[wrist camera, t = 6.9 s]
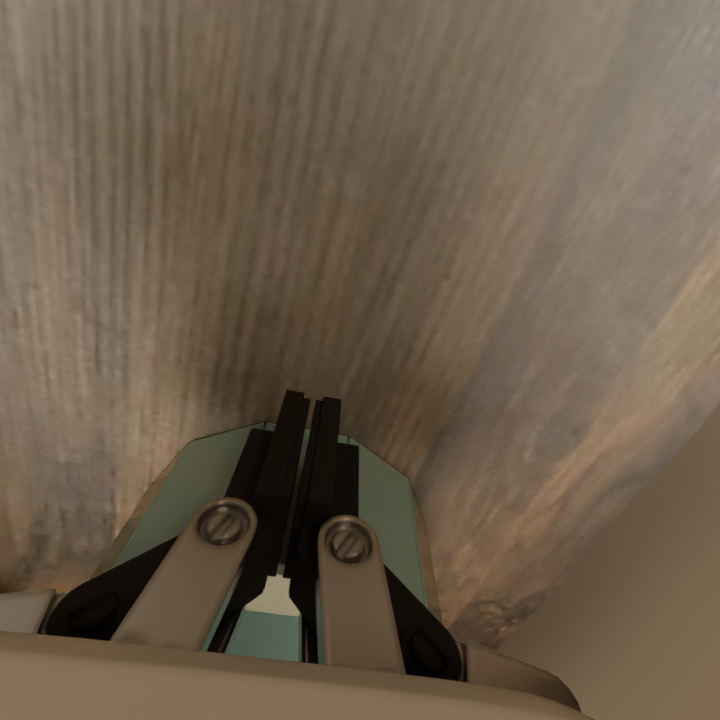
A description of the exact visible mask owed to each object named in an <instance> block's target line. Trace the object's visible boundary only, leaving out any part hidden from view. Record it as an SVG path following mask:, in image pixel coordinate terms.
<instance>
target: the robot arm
mask: <svg viewBox="0 0 720 720" xmlns="http://www.w3.org/2000/svg"><path fill="white" fill-rule="evenodd" d="M304 394H305V393H303V392H297V391H292V390H287V391H286V394H285V397H284V401H283V404H282V407H281V410H280V413H279V416H278V420H277V423H276V426H275V429H274V431H269V430H263V429H257V428H252V429H251V431H250V433H249V436H248V438H247V441H246V443H245V446H244V448H243V451H242V453H241V456H240V458H239V461H238V463H237V466H236V468H235V471H234V473H233V476H232V478H231V481H230V483H229V486H228V488H227V491H226V493H225V496H224V497H223V498H217V499H214V500H211V501H208V502H207V503H205V504H204V505H202V506H201V507H200V508H199V509H198V510H197V511H196V512H195V513H194V514H193V516H192V517H191V519H190V520H189V522H188V523H187V525H186V526H185V528H184V529H183V531H182V532H181V534H180V535H178V536H176V537H174V538H172V539H170V540H168V541H166V542H164V543H162V544H160V545H158V546H156V547H154V548H152V549H150V550H148V551H146V552H144V553H142V554H140V555H138V556H136V557H134V558H132V559H130V560H128V561H126V562H124V563H122V564H120V565H118V566H116V567H115V568H113V569H111V570H109V571H107V572H105V573H103V574H101V575H99V576H97V577H95V578H93V579H91V580H89V581H87V582H85V583H83V584H81V585H80V586H78V587H77V588H75V589H74V590H72V591H70V592H68V593H58V594H57V593H56V590H55V589H47V590H37V591H26V592H16V593H5V594H0V720H594V719H593V718H591V717H589V716H587V715H585V714H583V713H581V710H580V707H579V704H578V702H577V700H576V699H575V697H574V696H573V694H572V692H571V691H570V689H569V688H568V687H567V686H566V685H565V684H564V683H563V682H562V681H561V680H560V679H559V678H558V677H556V676H555V675H553V674H551V673H550V672H548V671H546V670H543V669H540V668H538V667H536V666H533V665H530V664H528V663H525V662H523V661H520V660H518V659H515V658H512V657H510V656H507V655H505V654H502V653H500V652H497V651H495V650H492V649H489V648H487V647H484V646H482V645H479V644H477V643H474V642H471V641H469V640H466V641H465V643H461V642H459V641H456V640H454V638H453V637H452V636H451V634H450V633H449V632H448V630H447V629H446V628H445V627H444V626H443V625H442V624H441V623H440V622H439V621H438V620H437V619H436V618H435V617H434V615H433V614H432V613H431V612H430V611H429V610H428V609H427V608H426V607H425V606H424V605H423V604H422V603H421V602H420V601H419V600H418V599H417V598H416V597H415V596H414V594H413V593H412V592H411V591H410V590H409V589H408V588H407V587H406V586H405V585H404V584H403V583H402V582H401V581H400V580H399V579H398V578H397V577H396V576H395V574H394V573H393V572H392V571H391V570H390V569H389V568H388V567H387V566H386V565H385V564H384V563H383V559H382V554H381V549H380V544H379V540H378V538H377V535H376V532H375V531H374V530H373V528H372V527H371V526H370V525H369V524H368V523H366V522H365V521H364V520H362V519H360V518H359V446H357V445H351V444H345V443H339V442H338V434H339V422H340V410H341V399H336V398H330V397H325V396H324V398H323V401H321V400H316V404H315V409H314V414H313V419H312V424H311V429H310V434H309V439H308V445H307V450H306V455H305V460H304V465H303V470H302V476H301V481H300V486H299V492H298V497H297V503H296V508H295V513H294V519H293V524H292V529H291V535H290V540H289V546H288V551H287V556H286V562H285V567H284V573H283V578H287V579H290V585H289V591H288V593H289V598H290V599H291V600H292V602H293V603H294V605H295V606H296V607H297V609H298V610H299V618H298V652H299V662H294V661H285V660H276V659H268V658H259V657H250V656H241V655H232V654H228V652H229V650H230V647H231V645H232V642H233V640H234V638H235V635H236V633H237V630H238V628H239V625H240V623H241V620H242V618H243V615H244V613H245V609H246V605H247V604H248V603H250V602H251V601H252V600H254V599H255V598H257V597H258V596H259V595H261V594H262V593H263V589H264V590H265V586H266V581H267V577H268V576H272V577H276V573H277V568H278V563H279V558H280V553H281V548H282V543H283V539H284V534H285V529H286V524H287V519H288V514H289V509H290V504H291V499H292V494H293V489H294V484H295V479H296V474H297V469H298V464H299V459H300V453H301V448H302V442H303V437H304V432H305V426H306V421H307V416H308V410H309V405H310V399H309V398H304Z"/></svg>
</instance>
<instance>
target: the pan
mask: <svg viewBox="0 0 720 720" xmlns="http://www.w3.org/2000/svg"><path fill="white" fill-rule="evenodd" d="M275 426H276V423H270V422H267V423H266V426H265V424H264V423H263V422H262V423H258V424H255V425H251V426H247V427H244V428H240V429H236V430H232V431H229V432H225V433H221V434H217V435H214V436H210V437H206V438H202V439H199V440H195V441H192V442H190V444H189V443H188V444H187V445H186V446H185V447H184V448H183V449H182V450H181V451H180V453H179V454H178V455H177V456H176V457H175V458H174V459H173V460H172V462H171V463H170V464H169V465H168V466H167V467H166V468H165V469H164V470H163V472H162V473H161V474H160V475H159V476H158V477H157V478H156V479H155V481H154V482H153V483H152V484H151V485H150V486H149V488H148V489H147V491H146V493H145V494H144V496H143V497H142V499H141V500H140V502H139V503H138V505H137V507H136V508H135V510H134V511H133V513H132V514H131V516H130V517H129V519H128V521H127V522H126V524H125V525H124V527H123V528H122V530H121V532H120V533H119V535H118V536H117V538H116V539H115V541H114V542H113V544H112V546H111V547H110V549H109V550H108V552H107V553H106V555H105V556H104V558H103V560H102V561H101V563H100V564H99V566H98V567H97V569H96V570H95V572H94V574H93V575H92V577H91V578H90V580H91V579H93V578H95V577H97V576H99V575H101V574H103V573H105V572H107V571H109V570H111V569H113V568H115V567H116V566H118V565H120V564H122V563H124V562H126V561H128V560H130V559H132V558H134V557H136V556H138V555H140V554H142V553H144V552H146V551H148V550H150V549H152V548H154V547H156V546H158V545H160V544H162V543H164V542H166V541H168V540H170V539H172V538H174V537H176V536H178V535H180V534H181V532H182V531H183V529H184V528H185V526H186V525H187V523H188V522H189V520H190V519H191V517H192V516H193V514H194V513H195V512H196V511H197V510H198V509H199V508H200V507H201V506H202V505H204V504H205V503H207V502H208V501H211V500H214V499H217V498H223V497H224V496H225V493H226V491H227V488H228V486H229V483H230V481H231V478H232V476H233V473H234V471H235V468H236V466H237V463H238V461H239V458H240V456H241V453H242V451H243V448H244V446H245V443H246V441H247V438H248V436H249V433H250V431H251V429H252V428H257V429H263V430H269V431H274V429H275ZM309 434H310V429H305V432H304V437H303V442H302V448H301V453H300V459H299V464H298V469H297V474H296V479H295V484H294V489H293V494H292V499H291V504H290V509H289V514H288V519H287V524H286V529H285V534H284V539H283V543H282V548H281V553H280V558H279V563H278V568H277V573H276V577H272V576H268V577H267V581H266V586H265V590H264V589H263V593H262V594H261V595H259V596H258V597H257V598H255V599H254V600H252V601H251V602H250V603H248V604H247V605H246V609H245V613H244V615H243V618H242V620H241V623H240V625H239V628H238V630H237V633H236V635H235V638H234V640H233V642H232V645H231V647H230V650H229V652H228V654H232V655H241V656H250V657H259V658H268V659H276V660H285V661H294V662H299V652H298V618H299V610H298V609H297V607H296V606H295V605H294V603H293V602H292V600H291V599H290V598H289V593H288V591H289V585H290V579H287V578H283V573H284V567H285V562H286V556H287V551H288V546H289V540H290V535H291V529H292V524H293V519H294V513H295V508H296V503H297V497H298V492H299V486H300V481H301V476H302V470H303V465H304V460H305V455H306V450H307V445H308V439H309ZM338 442H339V443H345V444H351V445H357V446H359V518H360V519H362V520H364V521H365V522H366V523H368V524H369V525H370V526H371V527H372V528H373V530H374V531H375V532H376V535H377V538H378V540H379V544H380V549H381V554H382V559H383V563H384V564H385V565H386V566H387V567H388V568H389V569H390V570H391V571H392V572H393V573H394V574H395V576H396V577H397V578H398V579H399V580H400V581H401V582H402V583H403V584H404V585H405V586H406V587H407V588H408V589H409V590H410V591H411V592H412V593H413V594H414V596H415V597H416V598H417V599H418V600H419V601H420V602H421V603H422V604H423V605H424V606H425V607H426V608H427V609H428V610H429V611H430V612H431V613H432V614H433V615H434V617H435V618H436V619H437V620H438V621H439V622H440V623H441V624H442V625H443V623H442V617H441V611H440V606H439V600H438V594H437V588H436V582H435V577H434V571H433V565H432V559H431V553H430V547H429V542H428V536H427V530H426V526H425V523H424V521H423V518H422V515H421V512H420V509H419V506H418V504H417V501H416V498H415V495H414V492H413V490H412V487H411V484H410V481H409V480H407V477H406V476H404V475H403V474H402V473H400V472H399V471H397V470H396V469H395V468H393V467H392V466H390V465H389V464H388V463H386V462H385V461H383V460H382V459H381V458H379V457H378V456H376V455H375V454H374V453H372V452H371V451H369V450H368V449H366V448H365V447H364V446H362V445H361V444H359V443H358V442H357V441H355V440H354V439H352V438H349V439H348V437H347V436H345V435H339V434H338Z"/></svg>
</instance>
